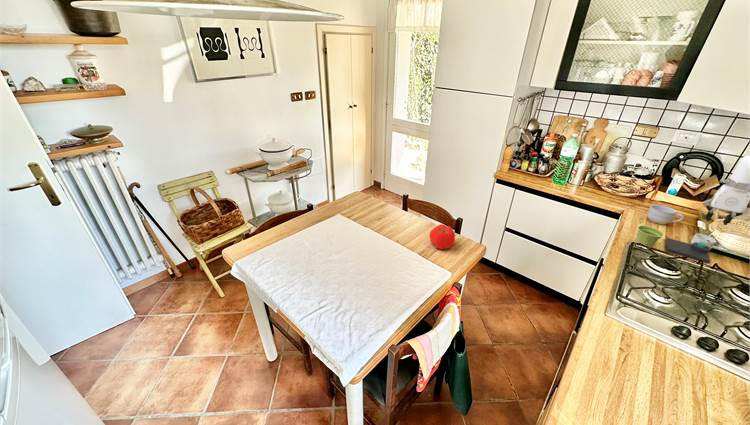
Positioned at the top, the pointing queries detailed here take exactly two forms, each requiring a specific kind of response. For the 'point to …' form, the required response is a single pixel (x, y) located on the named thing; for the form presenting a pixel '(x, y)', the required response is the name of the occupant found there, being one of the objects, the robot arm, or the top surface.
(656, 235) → the plant pot
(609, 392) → the top surface
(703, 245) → the tare button
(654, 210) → the teacup
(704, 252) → the scale
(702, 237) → the bowl
